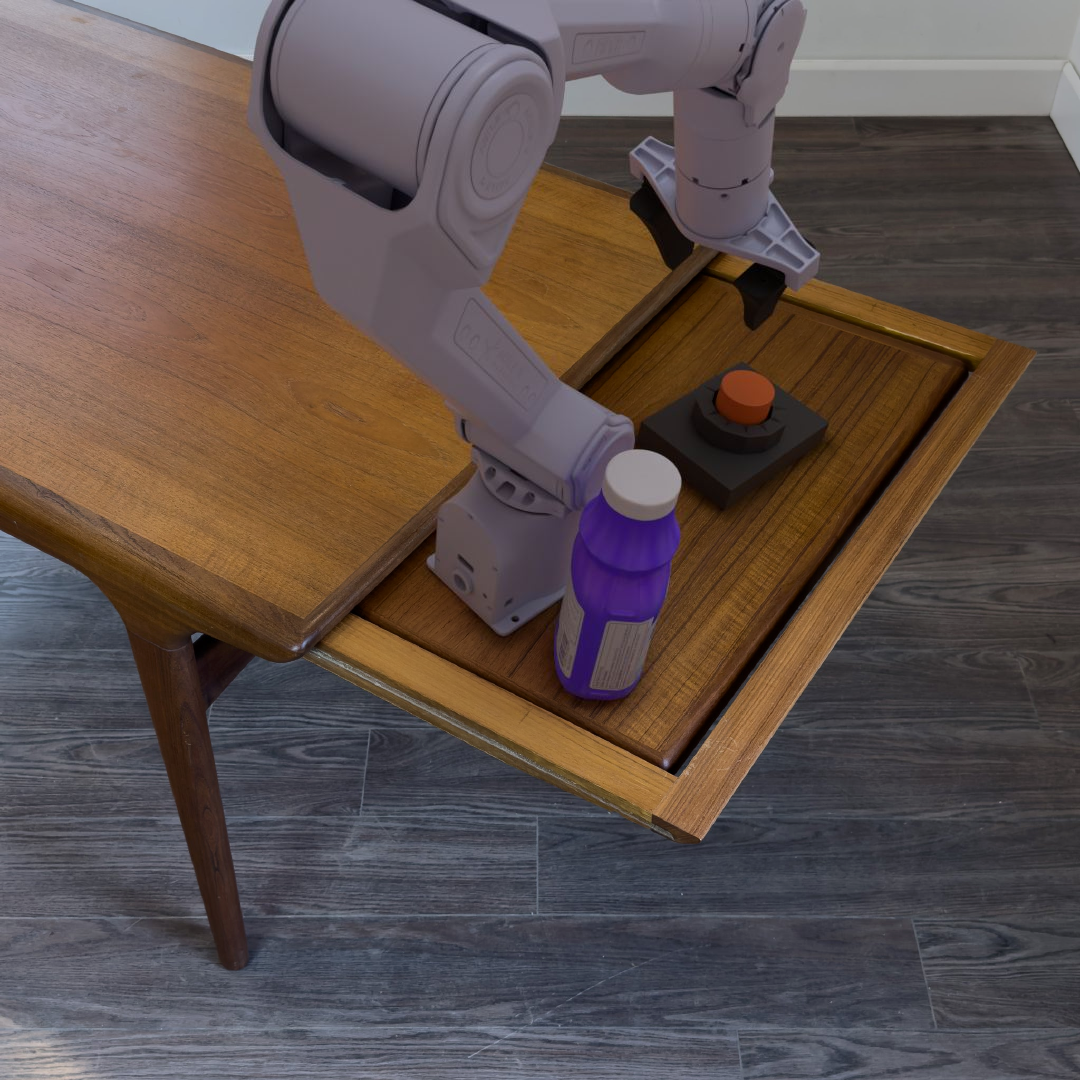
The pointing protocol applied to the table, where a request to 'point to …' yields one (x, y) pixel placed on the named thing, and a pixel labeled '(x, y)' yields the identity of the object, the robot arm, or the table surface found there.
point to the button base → (730, 440)
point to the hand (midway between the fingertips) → (718, 289)
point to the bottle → (618, 577)
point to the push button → (745, 397)
